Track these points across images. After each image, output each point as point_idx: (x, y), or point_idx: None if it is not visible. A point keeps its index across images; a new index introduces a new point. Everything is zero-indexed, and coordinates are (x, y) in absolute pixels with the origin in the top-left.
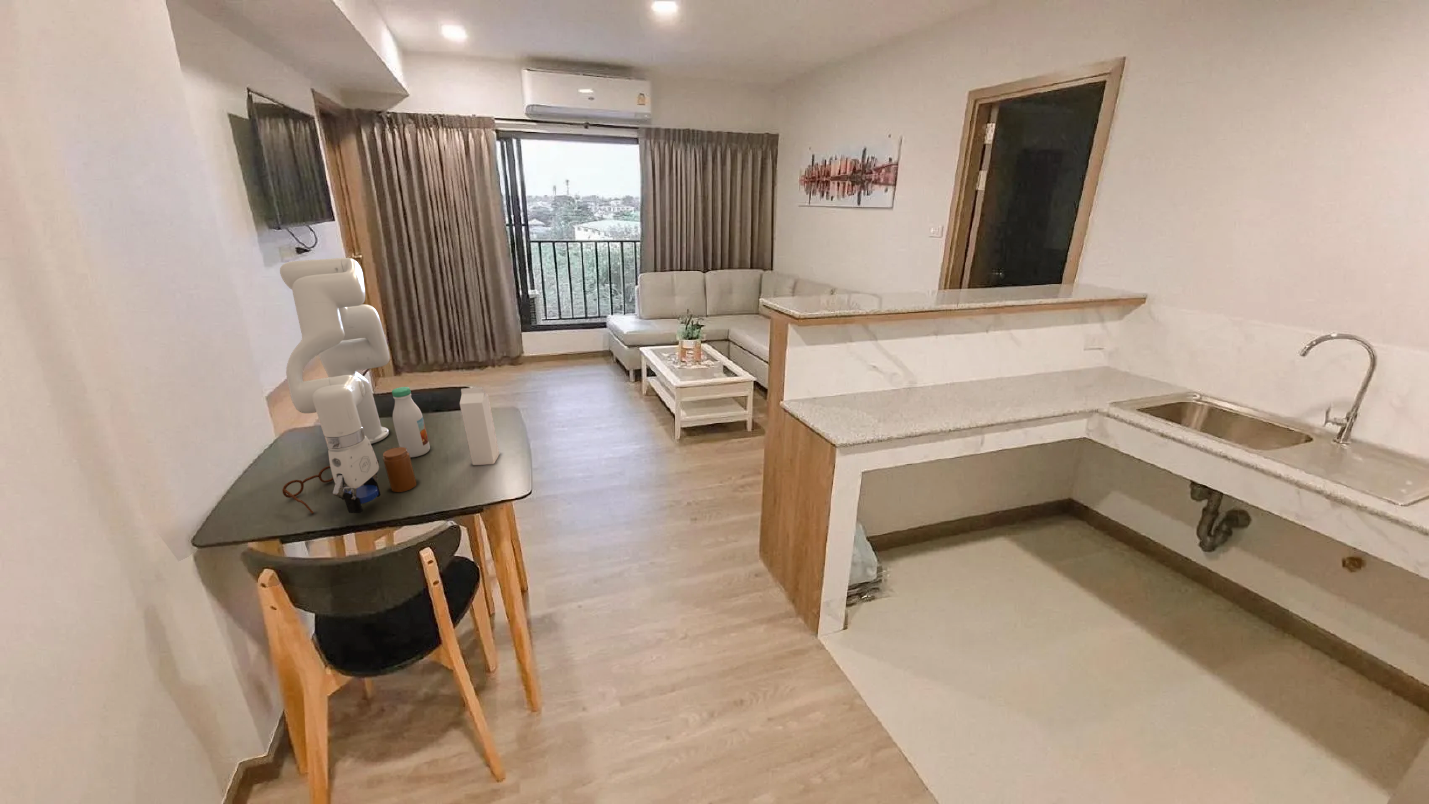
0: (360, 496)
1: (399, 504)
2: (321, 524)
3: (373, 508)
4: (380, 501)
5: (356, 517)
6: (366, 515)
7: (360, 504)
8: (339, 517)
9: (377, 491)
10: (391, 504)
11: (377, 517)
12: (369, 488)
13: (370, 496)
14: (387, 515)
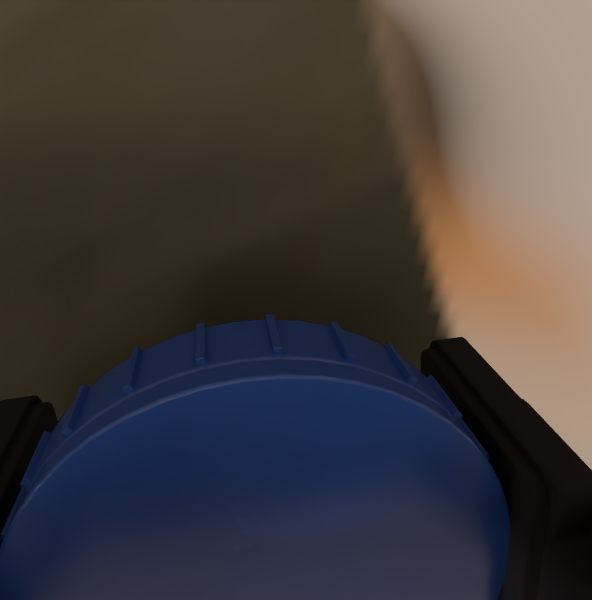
0: (427, 510)
1: (40, 57)
2: None
3: None
4: (39, 370)
5: None
6: (340, 320)
7: (493, 398)
8: None
9: (143, 380)
10: (69, 183)
11: (379, 162)
12: (135, 563)
13: (365, 368)
14: (332, 52)
